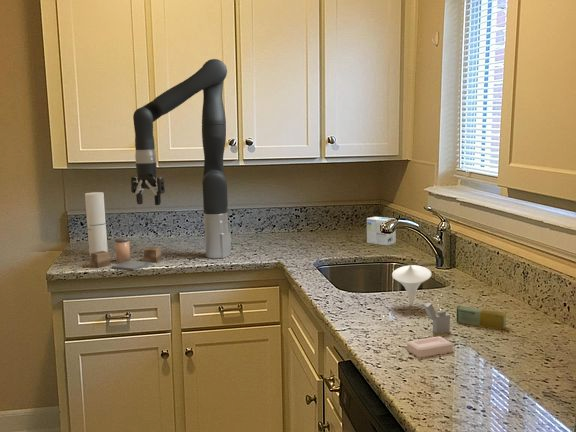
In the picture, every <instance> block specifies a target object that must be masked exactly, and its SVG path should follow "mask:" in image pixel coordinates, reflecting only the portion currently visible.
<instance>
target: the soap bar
mask: <svg viewBox="0 0 576 432" xmlns="http://www.w3.org/2000/svg"><path fill="white" fill-rule="evenodd" d="M406 344H407V345H406V350H407V351H408V352H409V353H411V354H412V355H414V356H415V357H417V358H425V357H431V356H437V355H442V354H443V355H444V354H447V353H452V352H453V345H454V344H453V342H450V341H449V340H447V339H445V338H443V337H442V336H440V335H438V336H434V337H433V336H432V337H427V338H422V339H421V338H420V339H415V340H411V341H407V343H406Z"/></svg>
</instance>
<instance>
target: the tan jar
mask: <svg viewBox="0 0 576 432" xmlns="http://www.w3.org/2000/svg"><path fill="white" fill-rule="evenodd" d="M114 242H115V243H114V245H115V257H116V258H115V260H116V263H118V264H120V263H123V262H126V261H129V260H131V247H130V246H131V245H130V236H118V237H114Z"/></svg>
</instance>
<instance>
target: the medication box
mask: <svg viewBox="0 0 576 432" xmlns="http://www.w3.org/2000/svg"><path fill="white" fill-rule="evenodd" d="M506 318H507V312H502V311H495V310H491V309H483V308H478V307H473V306H472V307H471V306H465V305H458V306H457V307H456V322H457V323H463V324H467V325H473V326H479V327H487V328H492V329H497V330H504V329H506V321H507V319H506Z"/></svg>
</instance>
